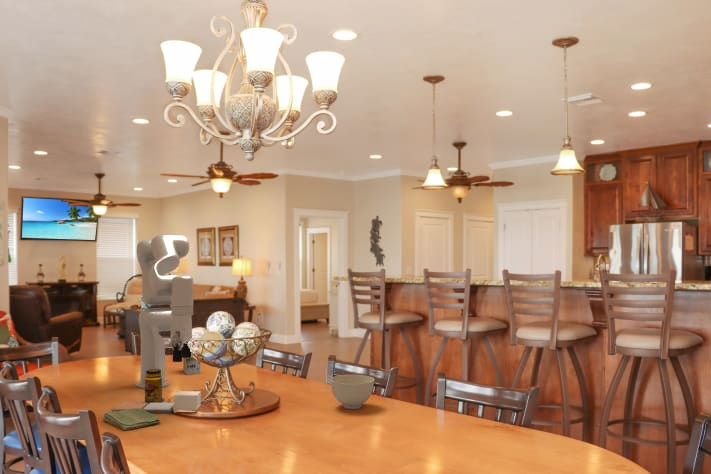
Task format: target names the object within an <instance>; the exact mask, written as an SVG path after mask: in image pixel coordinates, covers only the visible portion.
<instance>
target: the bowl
mask: <svg viewBox="0 0 711 474" xmlns="http://www.w3.org/2000/svg"><path fill="white" fill-rule="evenodd" d="M374 384H375V378H374V377H372V376H368V375H364V374H362V375H361V374H339V375H336V376H332V377H331V378H330V386H331V390H332V393H333V396H334V398H335V399H336V400H337V401H338V403H340V404H342V406H343V408H345V409H346V410H347V409H348V410H357V409H360V408H362V405H364V404H365V403H366V402H368V400H369V399H370V398H371V395H372V392H373V389H374Z"/></svg>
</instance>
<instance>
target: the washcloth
mask: <svg viewBox="0 0 711 474" xmlns="http://www.w3.org/2000/svg"><path fill="white" fill-rule="evenodd" d="M103 421H104V422H106V423H108V424H110V425H112V426H114V427H117V428H119V429H121V430H124V431H130V430H134V429H138V428H140V429H141V428H143V427H147V426H152V425H158V424H160V423H161V419H160V417H159V416H157V415H156V413H150V412H146V411H144V410H142V409H140V408H134V409H126V410H123V411H113V412H111V411H107V412H105V413H104V416H103Z"/></svg>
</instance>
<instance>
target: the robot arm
mask: <svg viewBox="0 0 711 474" xmlns="http://www.w3.org/2000/svg"><path fill="white" fill-rule="evenodd" d="M136 245H137V246H136V257H137V261H138V264H139V267H140V271H141V295H142V297H141V299H142V301H143V303H144V304H145V305H147V306H148V305H149V306H163V305H165V306H166V305H169V307H156V308H155V307H154V308H146V309H144V310H142V311H141V312H140V313H139V314H138V326H139V331H140V374H139V375H140V379H139V380H140V381H138V382H136V385H135V386H136V387H137V388H139V389H145V378H146V371H147V370H150V369H160V370H161V377H162V388H165V387H167V386H169V381H168V380H166V379H165V378H166V376H165V375H166V373H165V371H166V370H165V367H166V360H165V359H166V342H165V339H164V338H163V336H162V335H160V333H161V332H169V331H170V337H169V339H170V341H169V343H170V344H171V345H172V362H173V363H181V362H183V358H191V352H190V349H189V348H188V346H187V344H185V343H188V342H189V341H190V339H191V338H192V336H193V325H192V323H193V321H192V320H193V319H192V316H193V315H194V279H193V277H192V276H189V275H186V274H185V275H184V274H174V275H173V274H172V275H171V274H170V275H169V273H172V272H173V271H175V270H176V269H178V267H179V266H180V260H181V259H183V258H184V257H186V256H188V254H189V252H190V242H189V240H188V238H187V237H186V236H184V235H182V234H160V235H156V236H154V237H153V238H152V239H151V238H150V239H144V240H140V241H139V242H138V244H136Z"/></svg>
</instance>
